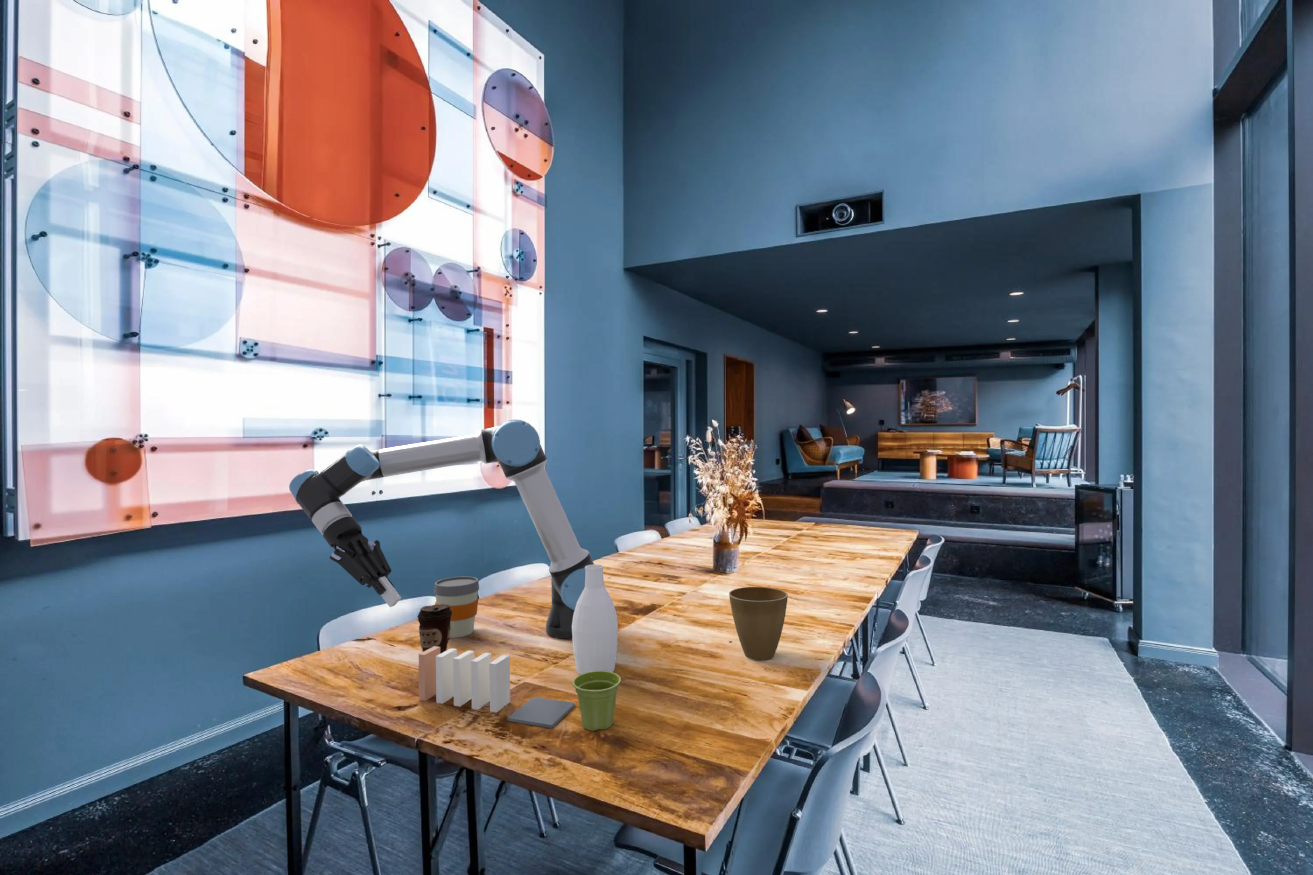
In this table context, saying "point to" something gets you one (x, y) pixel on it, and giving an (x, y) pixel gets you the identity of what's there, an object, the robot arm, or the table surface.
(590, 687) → the plant pot
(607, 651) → the bottle
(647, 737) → the table surface
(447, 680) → the domino
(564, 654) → the table surface
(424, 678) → the domino
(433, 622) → the coffee cup
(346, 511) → the robot arm
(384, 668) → the table surface
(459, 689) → the domino
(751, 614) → the plant pot
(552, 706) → the slate coaster
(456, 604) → the reusable coffee cup
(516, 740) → the table surface
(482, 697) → the domino
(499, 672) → the domino
